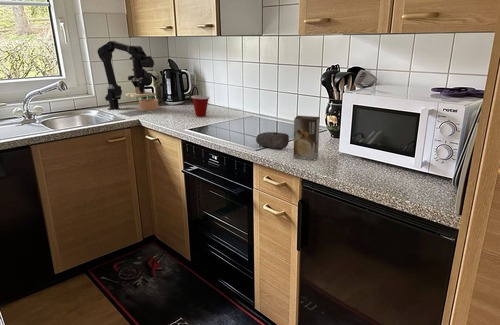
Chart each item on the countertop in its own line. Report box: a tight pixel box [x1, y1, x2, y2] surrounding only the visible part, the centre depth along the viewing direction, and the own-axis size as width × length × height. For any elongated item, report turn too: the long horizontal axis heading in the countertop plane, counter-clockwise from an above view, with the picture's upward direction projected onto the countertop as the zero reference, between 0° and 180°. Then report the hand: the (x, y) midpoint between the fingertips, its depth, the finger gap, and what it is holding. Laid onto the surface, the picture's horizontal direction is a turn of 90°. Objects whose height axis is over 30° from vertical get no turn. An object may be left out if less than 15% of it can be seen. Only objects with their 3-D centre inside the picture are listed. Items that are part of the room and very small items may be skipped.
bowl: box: [138, 98, 160, 111], centre depth 248 cm, size 12×12×6 cm
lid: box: [124, 87, 157, 99], centre depth 237 cm, size 14×14×5 cm
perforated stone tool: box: [255, 131, 290, 150], centre depth 162 cm, size 15×5×7 cm, turn 59°
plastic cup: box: [190, 94, 210, 118], centre depth 226 cm, size 11×11×12 cm
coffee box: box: [292, 115, 321, 160], centre depth 147 cm, size 9×6×16 cm
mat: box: [118, 109, 151, 118], centre depth 234 cm, size 15×15×1 cm
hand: (140, 92), depth 238 cm, fingers closed on lid, 4 cm apart
